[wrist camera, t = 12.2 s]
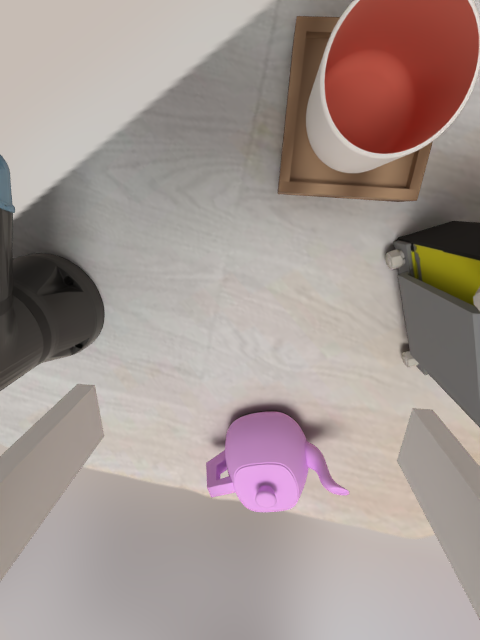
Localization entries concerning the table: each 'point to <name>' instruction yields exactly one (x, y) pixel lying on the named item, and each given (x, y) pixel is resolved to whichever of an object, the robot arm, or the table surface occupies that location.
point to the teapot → (267, 463)
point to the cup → (392, 80)
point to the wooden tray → (297, 154)
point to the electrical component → (443, 307)
